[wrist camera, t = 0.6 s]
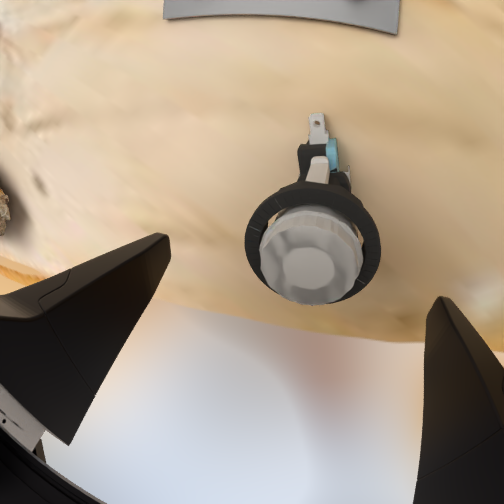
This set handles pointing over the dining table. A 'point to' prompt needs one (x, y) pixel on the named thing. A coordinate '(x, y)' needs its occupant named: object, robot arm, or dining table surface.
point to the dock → (295, 10)
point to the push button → (314, 230)
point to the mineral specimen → (3, 211)
